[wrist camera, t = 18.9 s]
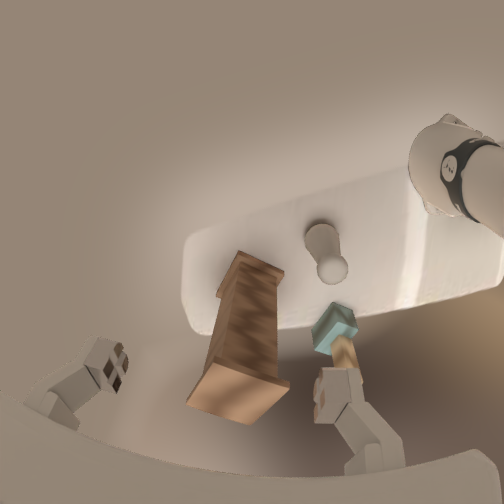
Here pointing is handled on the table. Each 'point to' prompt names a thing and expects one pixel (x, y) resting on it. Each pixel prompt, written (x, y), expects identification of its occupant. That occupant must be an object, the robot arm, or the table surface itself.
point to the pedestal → (243, 345)
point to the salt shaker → (326, 253)
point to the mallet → (337, 336)
